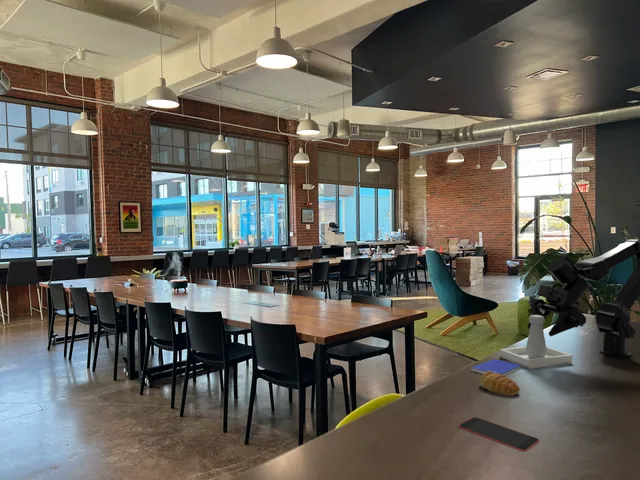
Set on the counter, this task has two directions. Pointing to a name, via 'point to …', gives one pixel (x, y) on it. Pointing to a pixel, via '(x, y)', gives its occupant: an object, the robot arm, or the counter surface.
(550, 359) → the tray
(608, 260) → the robot arm
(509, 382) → the pastry
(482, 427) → the smartphone
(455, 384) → the counter surface
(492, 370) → the hard drive
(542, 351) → the salt shaker
